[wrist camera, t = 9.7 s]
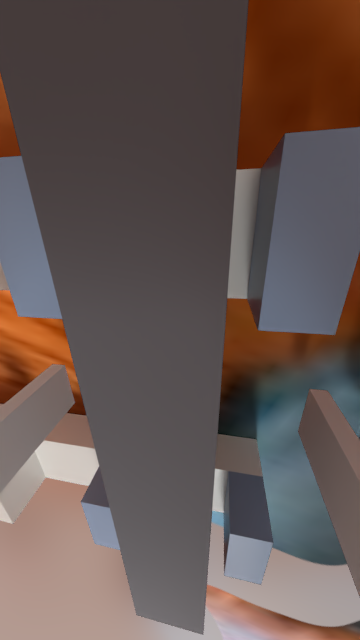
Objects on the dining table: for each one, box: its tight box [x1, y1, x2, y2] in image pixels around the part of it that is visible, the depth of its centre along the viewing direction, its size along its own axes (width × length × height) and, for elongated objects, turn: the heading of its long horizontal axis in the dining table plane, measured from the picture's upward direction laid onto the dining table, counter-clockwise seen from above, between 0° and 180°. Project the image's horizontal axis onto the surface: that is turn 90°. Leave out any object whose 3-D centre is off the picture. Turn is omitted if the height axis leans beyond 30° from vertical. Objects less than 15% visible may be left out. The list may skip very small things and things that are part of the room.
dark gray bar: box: [0, 0, 248, 634], centre depth 10 cm, size 26×4×4 cm, turn 1°
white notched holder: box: [0, 127, 360, 585], centre depth 13 cm, size 20×26×6 cm
